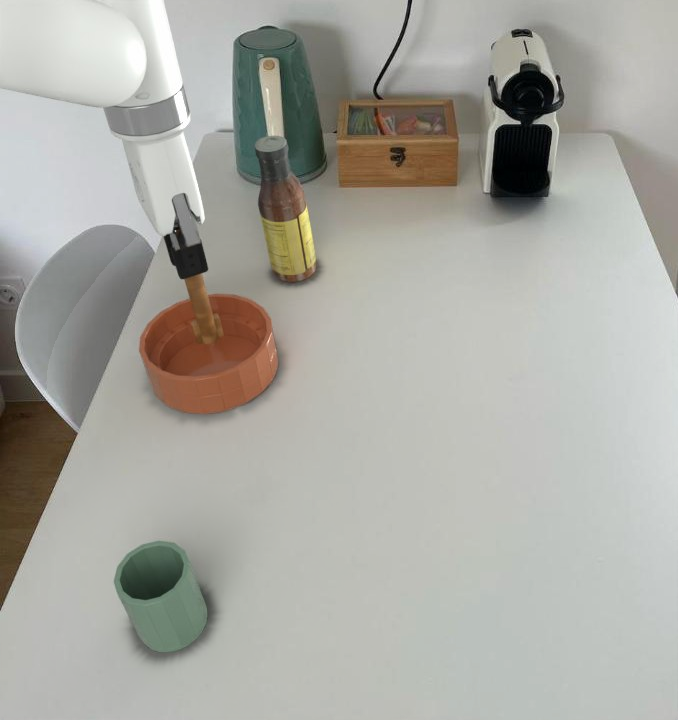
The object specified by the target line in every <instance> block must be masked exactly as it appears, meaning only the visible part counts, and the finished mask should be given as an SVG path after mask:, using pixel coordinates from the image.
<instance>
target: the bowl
mask: <svg viewBox="0 0 678 720" xmlns="http://www.w3.org/2000/svg"><path fill="white" fill-rule="evenodd" d="M208 298H209V302H210V306H211V309H212V313H213V314H216V313H217V314H218V316H219V318H220V322H221V326H222V330H223V334H224V336H222V337H219V338H218V340H217V341H216V342H215V343H213V344H204V343H202V344H200V345H198V344H197V342H196V339H195V336H194V332H193V329H192V325H191V322H193V321H196V319H195V315H194V312H193V308H192V305H191V301H190V298H189V297H188V298H186V299H183V300H181V301H177V302H176V303H174V304H172V305H170V306H168V307H166V308H164V309H163V310H161V311H160V312H159V313H157V314H156V316H154V317H153V318H152V319H151V320H149V322H148V323H147V324H146V326H145V328H144V330H143V332H142V333H141V334H140V337H139V345H138V352H139V355H140V358H141V361H142V364H143V367H144V369H145V373H146V376H147V378H148V381H149V384H150V386H151V389H152V392H153V393H154V395H155V397H156V398H157V399H158V400H159V401H161V402H162V403H163V404H164V405H165V406H167V407H168V408H171V409H174V410H177V411H179V412H182V413H187V414H199V415H208V414H209V415H210V414H214V413H215V414H216V413H221V412H226V411H229V410H231V409H235V408H237V407H240V406H242V405H245V404H247V403H249V402H250V401H252V400H253V399H254V398H256V397H258V396H259V395H260V394H262V393H263V392H264V391H265V389H266V388H268V386H269V385H270V384H271V383H272V382H273V380H274V378H275V376H276V373H277V370H278V368H279V356H278V350H277V344H276V339H275V334H274V333H275V332H274V327H273V322H272V318H271V317H270V315H269V314H268V312H267V311H266V309H265V308H264V307H263V306H262V305H260V304H259V303H257V302H256V301H254V300H252V299H251V298H248V297H245V296H240V295H237V294H228V293H209V294H208Z"/></svg>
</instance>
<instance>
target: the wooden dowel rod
mask: <svg viewBox="0 0 678 720" xmlns="http://www.w3.org/2000/svg"><path fill="white" fill-rule="evenodd" d="M175 231H176V235H177V234H178V233H181V229H179V230H175ZM183 280H184V283H185V287H186V291H187V294H188V299H189V298H190V301H191V305H192V308H193V312H194V315H195V319H196V321H193V322H191V325H192V329H193V332H194V336H195V339H196V342H197V344H198V345H200V344H202V343H204V344H213V343H215V342H216V341H217V340H218V338H219V337H222V336H224V334H223V330H222V326H221V322H220V318H219V316H218V314H217V313H216V314H213V313H212V309H211V306H210V302H209V298H208V295H209V294H208V291H207V287H206V283H205V279H204V275H203V273H201V274H198V275H195V276H192V277H189V278H186V279H183Z"/></svg>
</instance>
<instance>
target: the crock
mask: <svg viewBox="0 0 678 720" xmlns="http://www.w3.org/2000/svg"><path fill="white" fill-rule="evenodd" d="M113 585H114V588H115V591H116V594H117V596H118V598H119V601H120V602H121V604H122V606H123V608H124V610H125V612H126V615H127V617H128V618H129V621H131V624H132V626H133V628H134V630H135V632H136V634H137V636H138V638H139V640H141V641H142V644H144V645H145V646H146V647H147V648H149V649H150V650H152V651H155V652H159V653H172V652H177V651H180V650H182V649H184V648H186V647H188V646H190V645H191V644H192V643H194V642H195V641H196V640H197V639H198V638H199V637H200V635H201V634H202V633H203V631H204V630H205V628H206V624H207V622H208V607H207V603H206V602H205V599H204V596H203V594H202V591H201V588H200V585H199V582H198V581H197V578H196V575H195V572H194V570H193V567H192V564H191V562H190V559H189V556H188V554H187V552H186V550H185V549H184V548H183V547H181V546H180V545H178V544H177V543H175V542H172V541H165V540H155V541H151V542H146V543H143V544H140V545H139V546H137V547H136V548H134V549H132V550H130V552H128V553H127V554H126V555H125V556H124V557H123V559H122V560H121V561H120V562H119V564H118V565H117V567H116V570H115V574H114V578H113Z"/></svg>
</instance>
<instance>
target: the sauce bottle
mask: <svg viewBox="0 0 678 720" xmlns="http://www.w3.org/2000/svg"><path fill="white" fill-rule="evenodd" d="M289 150H290V148H289V144H288V142H287V139H286V138H285V137H283V136H281V135H266V136H263V137H260V138H259V139H257V140H256V141H255V142H254V153H255V157H257V159H258V164H259V169H260V172H259V173H260V190H259V193H258V198H257V208H258V212H259V215H260V221H261V225H262V229H263V234H264V239H265V244H266V248H267V253H268V257H269V262H270V266H271V269H273V274H274V275H275V277H276V278H277V279H279V280H281V281H283V282H287V283H297V282H301V281H304V280H307V279H309V278H310V277H312V276H313V275H314V273H315V272H316V269H317V262H316V259H317V257H316V251H315V246H314V245H315V244H314V239H313V234H312V233H313V232H312V228H311V221H310V217H309V211H308V205H307V201H306V199H305V192H304V189H303V186H302V185H301V182H300V179H299V178H298V177H297V176H296V175H295V174H294V172H293V171H292V167H291V165H290V160H289Z"/></svg>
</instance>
